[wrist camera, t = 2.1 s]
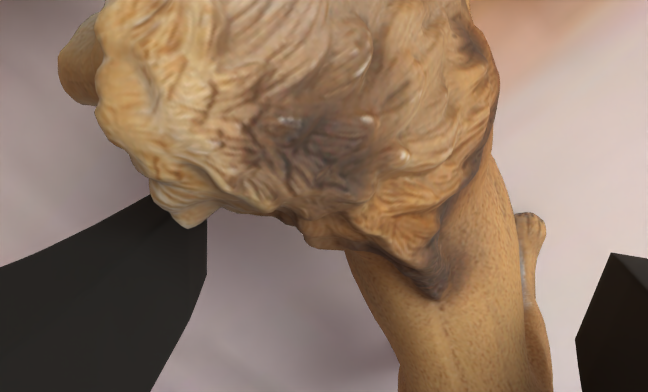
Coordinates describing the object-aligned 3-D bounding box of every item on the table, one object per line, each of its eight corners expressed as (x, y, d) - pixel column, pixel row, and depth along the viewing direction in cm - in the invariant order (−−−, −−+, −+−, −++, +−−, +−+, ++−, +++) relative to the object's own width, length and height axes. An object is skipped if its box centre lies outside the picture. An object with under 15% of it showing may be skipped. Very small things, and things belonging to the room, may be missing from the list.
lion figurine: (182, -52, 14) (-136, 70, 6) (390, -195, 12) (308, -280, 4) (457, 389, 19) (472, 755, 11) (635, 338, 17) (798, 740, 9)
